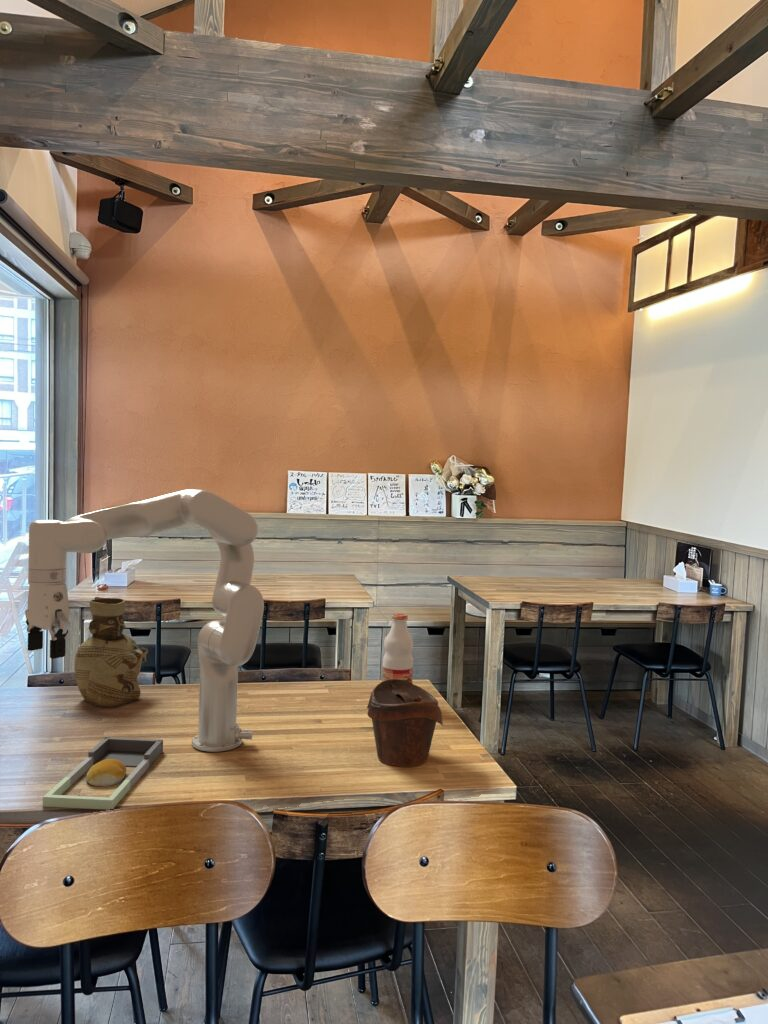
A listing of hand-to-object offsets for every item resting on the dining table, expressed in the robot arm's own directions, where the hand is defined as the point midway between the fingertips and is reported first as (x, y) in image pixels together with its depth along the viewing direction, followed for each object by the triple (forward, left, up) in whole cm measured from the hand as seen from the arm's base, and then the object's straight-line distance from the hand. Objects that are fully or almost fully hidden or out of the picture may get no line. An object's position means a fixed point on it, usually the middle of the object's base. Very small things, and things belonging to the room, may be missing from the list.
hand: (46, 653), depth 162 cm
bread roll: (-13, -3, -29) cm, 32 cm away
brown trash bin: (-80, -23, -29) cm, 88 cm away
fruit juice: (-78, -66, -29) cm, 106 cm away
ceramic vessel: (+9, -59, -29) cm, 66 cm away
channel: (-13, -4, -28) cm, 31 cm away
